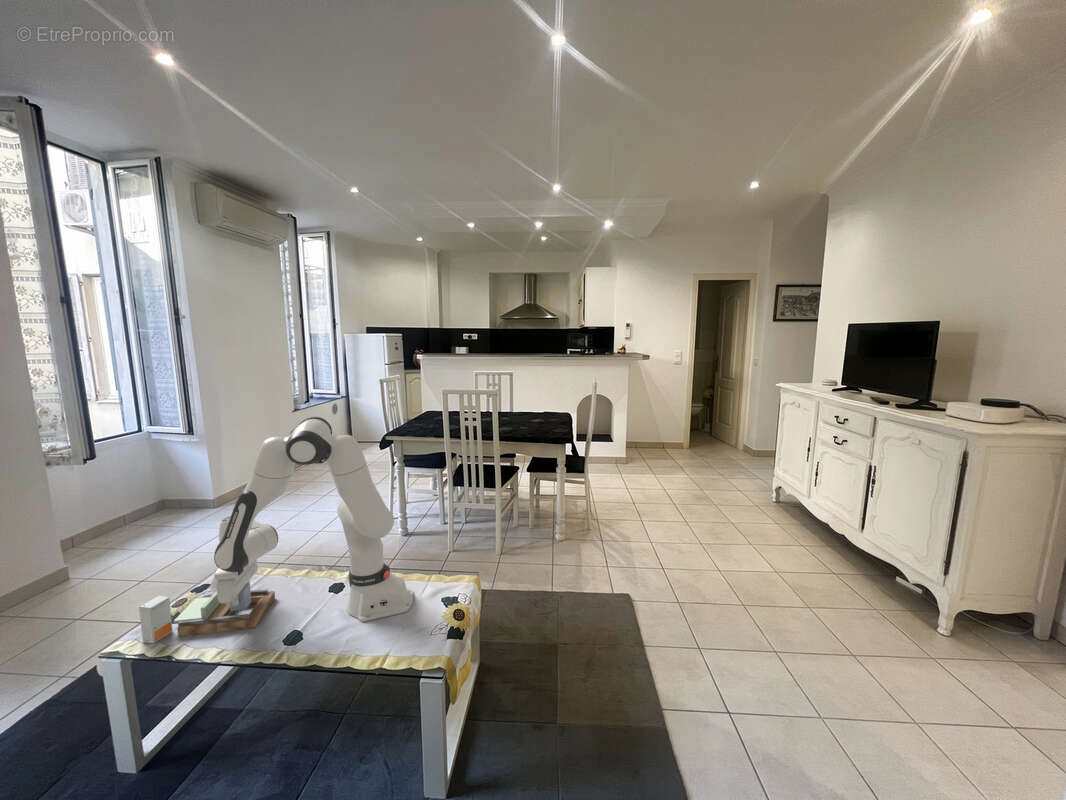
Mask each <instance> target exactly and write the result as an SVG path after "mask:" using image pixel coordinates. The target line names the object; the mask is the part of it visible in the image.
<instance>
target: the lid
mask: <svg viewBox="0 0 1066 800" xmlns="http://www.w3.org/2000/svg"><path fill="white" fill-rule="evenodd" d="M212 594H213V595H212ZM212 594H211V595H212V596H211V597H205V598H203V597H197V598H194V599H193V600H192V601H191V602H190V603H189V605H187V607H186V608H185V609H184V610H183V611H182V612H180V614H179V615H178V616H177V617H176V618H175V619H173V623H174V624H178V623H179V622H180V621H186V620H195V619H205V618H208V617H209V616H210V615H211V613H212V612H213V611H214V610H215V609H216V608H217V606H218V605H219V604H220V603H219V601H218V597H217V591H216V592H215V593H212Z"/></svg>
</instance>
